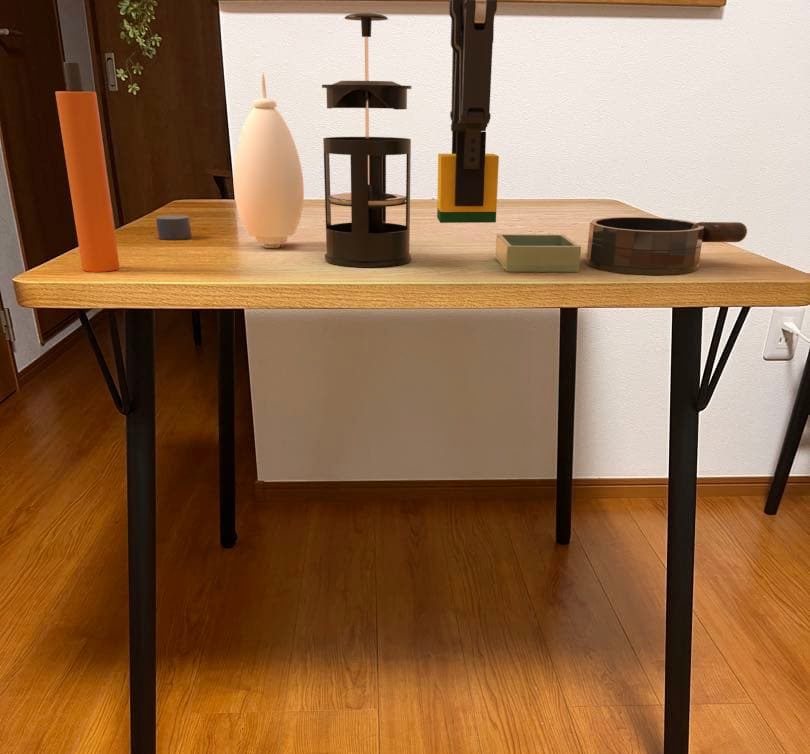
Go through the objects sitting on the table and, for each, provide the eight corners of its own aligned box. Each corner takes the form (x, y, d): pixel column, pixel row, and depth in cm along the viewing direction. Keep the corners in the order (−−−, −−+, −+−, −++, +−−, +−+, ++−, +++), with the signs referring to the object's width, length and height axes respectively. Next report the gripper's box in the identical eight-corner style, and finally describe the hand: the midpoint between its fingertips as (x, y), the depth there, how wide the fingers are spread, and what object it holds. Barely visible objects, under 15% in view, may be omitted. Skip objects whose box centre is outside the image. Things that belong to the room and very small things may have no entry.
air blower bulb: (309, 242, 106) (303, 73, 98) (301, 252, 99) (293, 72, 91) (245, 241, 106) (233, 72, 98) (232, 251, 99) (218, 71, 91)
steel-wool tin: (198, 237, 108) (196, 216, 107) (172, 241, 106) (170, 220, 104) (177, 234, 111) (175, 214, 109) (151, 237, 108) (149, 217, 107)
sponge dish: (578, 272, 90) (581, 246, 89) (506, 271, 90) (507, 246, 88) (562, 258, 97) (564, 234, 96) (495, 257, 97) (496, 234, 96)
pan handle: (692, 243, 92) (695, 223, 91) (685, 240, 94) (688, 220, 93) (748, 243, 92) (751, 223, 91) (740, 240, 94) (744, 221, 93)
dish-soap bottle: (122, 265, 91) (95, 63, 82) (116, 271, 87) (87, 62, 79) (86, 265, 90) (55, 62, 82) (79, 272, 87) (46, 61, 79)
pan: (600, 275, 89) (605, 231, 87) (576, 255, 99) (579, 216, 97) (713, 275, 89) (720, 232, 87) (677, 256, 99) (683, 217, 97)
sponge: (491, 217, 89) (493, 153, 86) (496, 222, 86) (498, 155, 83) (437, 218, 89) (438, 153, 86) (439, 222, 86) (441, 156, 83)
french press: (403, 270, 90) (406, 8, 79) (314, 266, 91) (305, 8, 80) (418, 252, 100) (422, 18, 90) (338, 249, 101) (333, 18, 91)
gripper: (426, -68, 83) (423, 194, 94) (439, -104, 68) (434, 213, 79) (504, -68, 84) (493, 194, 94) (534, -104, 69) (517, 213, 79)
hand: (466, 202), depth 87 cm, fingers closed on sponge, 4 cm apart
